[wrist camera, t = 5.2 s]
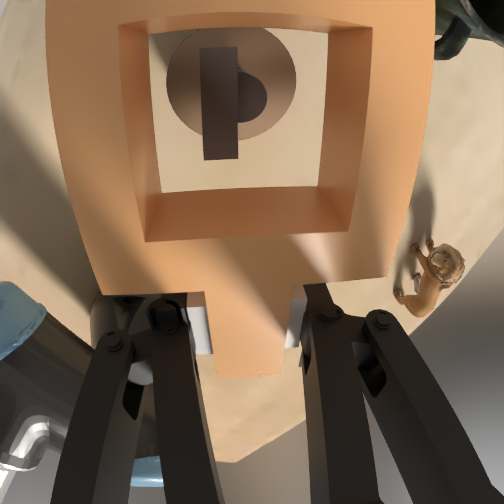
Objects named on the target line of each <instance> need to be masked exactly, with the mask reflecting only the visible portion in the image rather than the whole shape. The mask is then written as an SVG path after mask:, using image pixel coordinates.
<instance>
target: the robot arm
mask: <svg viewBox="0 0 504 504" xmlns="http://www.w3.org/2000/svg"><path fill="white" fill-rule="evenodd" d="M90 332H91V346H92V347H91V346H90V345H88V344H87V343H86V342H84V341H83V340H82V339H80V338H79V337H78V336H77V335H75V334H74V333H73V332H72V331H70V330H69V329H68V328H67V327H65V326H64V325H63V324H62V323H60V322H59V321H58V320H57V319H56V318H55V317H53V316H52V315H51V314H50V313H49V312H48V311H47V310H46V308H45V307H44V306H43V304H41V303H37V302H36V301H34V300H33V299H32V298H31V297H30V296H28V295H27V294H26V293H25V292H24V291H23V290H21V289H20V288H19V287H18V286H17V285H15V284H14V283H12V282H9V281H1V282H0V504H1V503H2V500H3V498H4V496H5V494H6V492H7V489H8V487H9V485H10V483H11V481H12V479H13V477H14V475H15V473H16V471H30V470H33V469H35V468H36V466H37V465H38V464H39V462H40V460H41V459H42V457H43V455H44V453H45V452H46V451H47V450H48V449H50V450H53V451H55V452H57V453H59V454H61V457H60V461H59V465H58V469H57V474H56V478H55V482H54V487H53V492H52V497H51V502H50V504H128V497H129V490H130V486H139V487H162V486H164V491H165V497H166V503H167V504H225V501H224V497H223V494H222V489H221V485H220V480H219V476H218V472H217V467H216V463H215V458H214V454H213V449H212V444H211V439H210V434H209V429H208V424H207V419H206V413H205V408H204V402H203V396H202V391H201V385H200V379H199V372H198V366H197V362H196V353H197V355H201V354H213V347H212V341H211V334H210V328H209V321H208V314H207V307H206V299H205V292H204V291H201V292H181V293H158V294H129V295H102V293H101V292H100V293H99V294H98V296H97V297H96V299H95V302H94V304H93V307H92V310H91V314H90ZM300 341H301V345H302V348H303V349H302V353H301V357H300V362H299V367H301V366H302V373H303V384H304V397H305V410H306V423H307V438H308V454H309V472H310V493H311V504H384V503H383V502H382V501H381V500H380V497H379V493H378V485H377V477H376V470H375V462H374V457H373V449H372V443H371V436H370V430H369V425H368V419H367V413H366V408H365V403H364V398H363V394H364V396H365V398H366V400H367V402H368V404H369V406H370V408H371V410H372V412H373V415H374V417H375V419H376V421H377V423H378V425H379V427H380V430H381V432H382V434H383V436H384V438H385V440H386V443H387V445H388V447H389V449H390V451H391V453H392V456H393V458H394V460H395V462H396V465H397V467H398V469H399V472H400V474H401V476H402V478H403V480H404V483H405V485H406V488H407V490H408V492H409V494H410V497H411V499H412V501H413V504H504V496H503V495H502V494H501V493H500V492H499V491H498V490H497V489H496V488H495V487H494V486H492V485H491V483H490V480H489V478H488V476H487V474H486V472H485V470H484V467H483V465H482V463H481V461H480V459H479V457H478V455H477V453H476V451H475V449H474V448H473V445H472V443H471V441H470V440H469V438H468V436H467V434H466V432H465V430H464V428H463V427H462V425H461V423H460V421H459V419H458V417H457V416H456V414H455V412H454V410H453V408H452V407H451V405H450V403H449V401H448V400H447V398H446V396H445V395H444V393H443V391H442V390H441V388H440V386H439V384H438V383H437V381H436V380H435V378H434V376H433V375H432V373H431V371H430V370H429V368H428V366H427V365H426V363H425V362H424V360H423V358H422V357H421V355H420V354H419V352H418V351H417V349H416V347H415V346H414V345H413V343H412V341H411V340H410V338H409V337H408V335H407V334H406V332H405V331H404V329H403V328H402V326H401V325H400V323H399V322H398V320H397V319H396V318H395V317H394V315H393V314H391V313H389V312H388V311H385V310H381V309H378V310H373V311H371V312H369V313H368V315H367V316H366V318H365V317H358V316H352V315H348V314H345V313H344V312H343V310H342V309H341V308H340V307H339V306H337V305H335V304H334V303H333V300H332V298H331V295H330V293H329V291H328V288H327V286H326V283H317V284H305V285H293V291H292V299H291V307H290V314H289V322H288V329H287V336H286V343H285V348H292V347H299V342H300Z"/></svg>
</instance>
